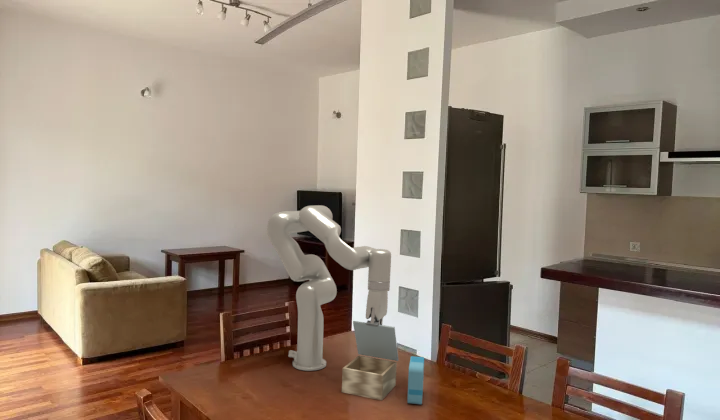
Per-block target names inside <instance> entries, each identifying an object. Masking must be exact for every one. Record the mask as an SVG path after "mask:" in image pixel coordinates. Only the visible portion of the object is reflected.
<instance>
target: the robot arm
mask: <svg viewBox="0 0 720 420" xmlns="http://www.w3.org/2000/svg"><path fill="white" fill-rule="evenodd" d="M266 232H267V237H268V239H269V242H270V244H271V245H272V247H273V248H274V250H275V251H276V253H277V256H278V257H279V260H280V261H281V263H282V265H283V267H284V269H285V270H286V273H287V275H288V276H289V278H290V279H291V280H292V281H293V282H303V283H302V284H301V285H300V286H298V288H297V290H296V293H295V300H296V305H297V306H296V307H297V341H296V342H297V344H296V345H297V347H296V349H297V350H291V349H290V350H288V355H287V356H288V358H293V360H292V367H293V368H295V369H297V370H299V371H304V372H305V371H306V372H310V371H319V370H322V369H324V368H325V367H326V366H327V360H326V359H324V358H323V354H324V353H323V349H324V348H323V347H324V322H325V321H324V314H323V311H322V308H321V307H322V305H324V304H327V303H330V302H332V301H334V299H335V298H336V296H337V293H338V291H337V290H338V289H337V285H336V283H335V281H334V279H333V277H332V276H331V273H330V272H329V270H328V267H327V266H326V264H325V262H324V260H322V259H321V257H320V256H318V255H315V254H312V253H311V254H305V253H304V252H303V251H302V249H301V246H300V245H299V243H298V242H297V241H296V240H295V239H294V238H293V237H292V236H291V234H292V233H293V234H294V233H295V234H296V233H303V232H310V233H311V234H312V235H314V236H315V237H316V238H317V239H319V240H320V241H321V242H322V243H323V244H324V247H325V249H326V251H327V253H328V255H329V256H330V257H331V258H332V259H333V260H334V261H335V262H336V263H338V264H339V265H340V266H341V267H343V268H344V269H346V270H350V271H356V270H361V269H364V268H365V269H366V268H368V272H367V277H368V278H367V291H368V294H367V299H366V305H365V307H366V308H365V309H366V310H365V319H366V320H369V319H370V321H371V322H370V323H372V324H374V322H375V321H376V322H379V325H383V322H384V317H386V315H387V314H388V299H389V298H388V292H389V291H390V290H391V289H390V287H391V267H392V252H391V251H390V250H389V249H383V248H374V247H371V246H366V245H361V246H356V247H351V246H350V245H348V244H347V243H346V242H345V241H344V240H342V239H341V237H340V235H341V232H342V228H341V225H339V223H337V222H336V221H335V220H333V213H332V211H331V209H330V207H329V208H328V207H327V206H325V205H322V204H321V205H319V204H318V205H307V206H304V207H303V208H301V209H300V210H286V211H285V210H284V211H280V212H275V213H274V214H272V215H271V216H270V217H269V219H268V221H267V226H266ZM305 281H306V282H305Z"/></svg>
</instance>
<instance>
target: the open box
mask: <svg viewBox="0 0 720 420" xmlns="http://www.w3.org/2000/svg"><path fill="white" fill-rule="evenodd" d="M397 362H398V361H394V360H389V359H383V358H377V357H371V356H365V355H358V356H357V357H355V358H354V359H353V360H351V361H350V362H349V363H347V364H346V365H345V366H344V367H342V372H341V374H342V376H341V382H342V383H341V393H345V394H350V395H353V396H358V397H363V398H368V399H373V400H377V401H378V400H379V401H383V399H385V397H387V396H388V394H389V393H390V392H391V391H392V390H393V389H394V388H395V386H396V384H397Z"/></svg>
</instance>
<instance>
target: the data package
mask: <svg viewBox="0 0 720 420" xmlns="http://www.w3.org/2000/svg"><path fill="white" fill-rule="evenodd" d="M424 373H425V357H424V356H413V355H412V356H410V360H409V364H408V377H407V404H414V405H422V404H423V392H424V377H425V376H424Z"/></svg>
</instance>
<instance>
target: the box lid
mask: <svg viewBox="0 0 720 420" xmlns="http://www.w3.org/2000/svg"><path fill="white" fill-rule="evenodd" d="M370 322H371V320H369V319H367V321H366V322H363V321H358V320H353V322H352V323H353V324H352V325H353V331H354V337H355V343H356V349H357V354H358V355H359V356H365V357H370V358H376V359H382V360H388V361H393V362H398V361H399V360H400V359H399V352H398V346H397V336H396V328H395V326H391V325H384V324H382V325H379V322H376V321H375V322H374V324H372V323H370Z"/></svg>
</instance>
